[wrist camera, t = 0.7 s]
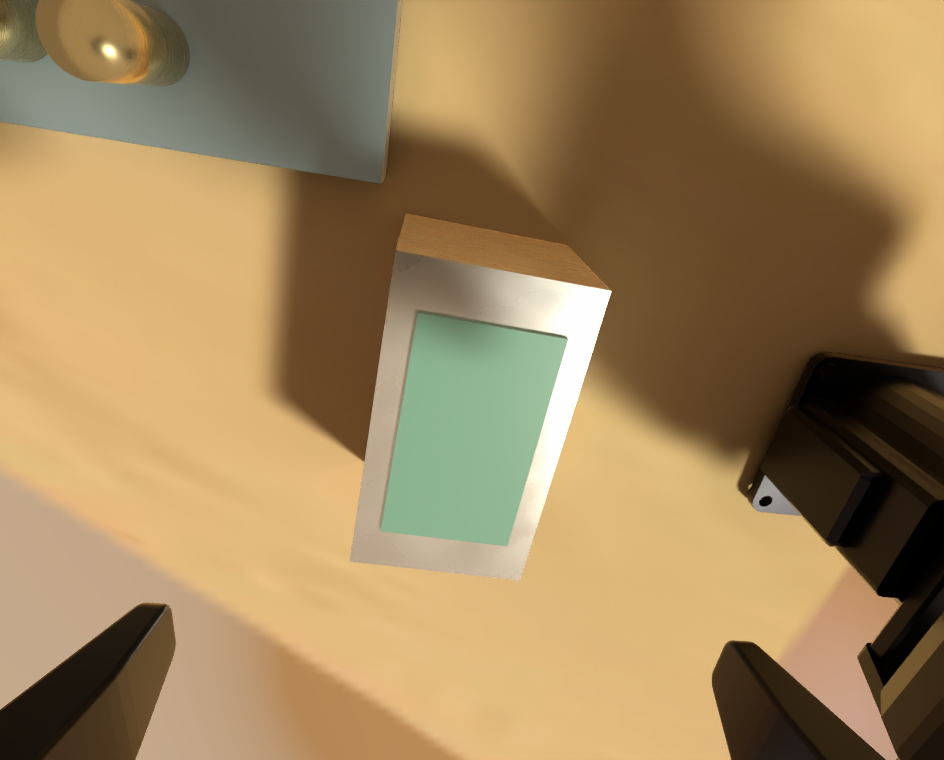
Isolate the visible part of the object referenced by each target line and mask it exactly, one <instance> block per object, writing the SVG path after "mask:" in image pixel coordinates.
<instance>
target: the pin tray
mask: <svg viewBox="0 0 944 760" xmlns="http://www.w3.org/2000/svg"><path fill="white" fill-rule="evenodd" d="M401 10H402V0H0V122H5V123H11V124H17V125H23V126H29V127H35V128H41V129H48V130H54V131H60V132H66V133H72V134H78V135H84V136H90V137H97V138H103V139H109V140H115V141H121V142H127V143H133V144H140V145H146V146H152V147H158V148H164V149H170V150H176V151H183V152H189V153H195V154H201V155H207V156H213V157H219V158H225V159H232V160H238V161H244V162H250V163H256V164H262V165H268V166H275V167H281V168H287V169H293V170H299V171H305V172H311V173H317V174H324V175H330V176H336V177H342V178H348V179H354V180H360V181H367V182H373V183H379V184H381V183H382V182H383V181H384V179H385V178H386V169H387V159H388V148H389V138H390V127H391V116H392V106H393V95H394V84H395V74H396V63H397V52H398V42H399V31H400V20H401Z"/></svg>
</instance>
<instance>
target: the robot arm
mask: <svg viewBox="0 0 944 760" xmlns="http://www.w3.org/2000/svg"><path fill="white" fill-rule="evenodd" d="M826 364H828V366H827V368H826V369H825V370H824V371H822V372H820V371H821V369H822V367H823V366H824V365H826ZM764 496H766V497H765V498H764V499H762V500H760V499H761V498H762V497H764ZM747 498H748V501H749V503H750V504H751V505H752V506H753V508H754V509H755V510H756V511H760V512H768V513H777V514H787V515H797V516H802V517H803V518H804V519H805V521H806V522H807V523H808V524H809V525H810V526H811V527H812V528H813V530H814V531H815V532H816V533H817V534H818V535H819V536H820V537H821V539H822V540H823V541H824V542H825V543H826V544H827V545H829V546H831V547H835V548H836V549H837V550H838V551H839V553H840V554H841V555H842V556H843V557H844V558H845V559H846V560H847V561H848V563H849V564H850V565H851V566H852V567H853V568H854V569H855V570H856V571H857V573H858V574H859V575H860V576H861V577H862V578H863V579H864V580H865V581H866V582H867V583H868V585H869V586H870V587H871V588H872V589H873V590H874V591H875V593H876V594H877V595H878V596H882V597H890V598H893V599H894V600H895V601H896V602H897V603H898V604H899V605H900V606H899V607H898V609H897V610H896V611H895V612H894V614H893V615H892V616H891V618H890V619H889V621H888V622H887V623H886V625H885V626H884V627H883V629H882V630H881V631H880V633H879V634H878V635H877V637H876V638H875V639H874V641H873V643H867V644H866V645H865V647H864V648H863V650H862V651H861V652H860V653H859V655H858V660H859V663H860V665H861V668H862V670H863V673H864V675H865V678H866V680H867V682H868V685H869V687H870V689H871V692H872V695H873V697H874V700H875V702H876V704H877V707H878V709H879V712H880V714H881V718H882V720H883V722H884V725H885V727H886V730H887V732H888V735H889V737H890V740H891V742H892V744H893V747H894V749H895V752H896V754H897V756H898V758H897V759H896V760H944V369H943V368H936V367H929V366H922V365H915V364H908V363H901V362H894V361H887V360H879V359H872V358H865V357H858V356H851V355H844V354H837V353H830V352H821V353H819V354H816V355H815V356H813V357H812V358H811V359H810V360H809V362H808V363H807V365H806V368H805V370H804V372H803V374H802V376H801V379H800V381H799V383H798V385H797V387H796V390H795V392H794V394H793V396H792V398H791V401H790V403H789V405H788V407H787V409H786V412H785V414H784V416H783V418H782V420H781V423H780V425H779V427H778V429H777V431H776V434H775V436H774V438H773V440H772V442H771V445H770V447H769V449H768V451H767V453H766V456H765V458H764V460H763V462H762V464H761V467H760V469H759V471H758V473H757V475H756V478H755V480H754V482H753V484H752V486H751V489H750V491H749V493H748V497H747ZM175 644H176V640H175V632H174V625H173V618H172V611H171V608H170V607H169V605H167V604H159V603H142V604H139V605H137V606H136V607H134V608H133V609H132V610H130V611H129V612H128V613H127V614H125V615H124V616H123V617H121V618H120V619H119V620H117V621H116V622H115V623H113V624H112V625H111V626H109V627H108V628H107V629H106V630H104V631H103V632H102V633H100V634H99V635H98V636H96V637H95V638H94V639H92V640H91V641H90V642H88V643H87V644H86V645H85V646H83V647H82V648H81V649H79V650H78V651H77V652H75V653H74V654H73V655H71V656H70V657H69V658H68V659H66V660H65V661H64V662H62V663H61V664H60V665H58V666H57V667H56V668H54V669H53V670H52V671H50V672H49V673H48V674H46V675H45V676H44V677H43V678H41V679H40V680H39V681H37V682H36V683H35V684H33V685H32V686H31V687H29V689H27V690H26V691H24V692H23V693H22V694H20V695H19V696H18V697H16V698H15V699H14V700H12V701H11V702H10V703H8V704H7V705H6V706H4V707H3V708H2V709H1V710H0V760H135V759H136V756H137V754H138V751H139V749H140V746H141V743H142V741H143V738H144V735H145V733H146V730H147V727H148V724H149V722H150V719H151V716H152V713H153V711H154V708H155V705H156V702H157V700H158V697H159V694H160V691H161V689H162V686H163V683H164V681H165V678H166V675H167V672H168V669H169V667H170V664H171V661H172V658H173V655H174V651H175ZM712 687H713V692H714V695H715V699H716V703H717V707H718V711H719V715H720V718H721V722H722V726H723V730H724V734H725V738H726V741H727V745H728V749H729V753H730V757H731V760H885V759H884V758H883V757H882V756H881V755H880V754H879V753H877V752H876V751H875V750H874V749H873V748H872V747H871V746H870V745H869V744H867V743H866V742H865V741H864V740H863V739H862V738H861V737H859V736H858V735H857V734H856V733H855V732H854V731H853V730H852V729H850V728H849V727H848V726H847V725H846V724H845V723H844V722H843V721H842V720H841V719H839V718H838V717H837V716H836V715H835V714H834V713H833V712H831V711H830V710H829V709H828V708H827V707H826V706H825V705H824V704H823V703H821V702H820V701H819V700H818V699H817V698H816V697H815V696H813V694H811V693H810V692H809V691H808V690H807V689H806V688H805V687H803V686H802V685H801V684H800V683H799V682H798V681H797V680H796V679H795V678H793V677H792V676H791V675H790V674H789V673H788V672H787V671H786V670H785V669H783V668H782V667H781V666H780V665H779V664H778V663H777V662H776V661H774V660H773V659H772V658H771V657H770V656H769V655H768V654H767V653H765V652H764V651H763V650H762V649H761V648H760V647H759V646H757V645H756V644H754V643H752V642H748V641H733V640H732V641H729V642H727V643H726V644H725V646H724V648H723V650H722V653H721V655H720V657H719V659H718V662H717V664H716V666H715V668H714V670H713V674H712Z"/></svg>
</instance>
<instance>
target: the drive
mask: <svg viewBox="0 0 944 760" xmlns="http://www.w3.org/2000/svg"><path fill="white" fill-rule="evenodd" d="M610 295H611V290H610V289H609V288H608V287H607V286H606V285H605V283H604V282H603V281H602V280H601V279H600V278H599V277H598V276H597V275H596V274H595V273H594V272H593V271H592V270H591V269H590V268H589V267H588V266H587V265H586V264H585V263H584V261H583V260H582V259H581V258H580V257H579V256H578V255H577V254H576V253H575V252H574V251H573V250H572V249H571V248H570V247H569V246H568V245H565V244H560V243H555V242H550V241H545V240H540V239H535V238H530V237H524V236H519V235H514V234H509V233H504V232H499V231H494V230H489V229H484V228H479V227H474V226H469V225H464V224H459V223H454V222H449V221H444V220H438V219H433V218H428V217H423V216H418V215H413V214H408V213H406V215H405V218H404V222H403V225H402V229H401V232H400V236H399V239H398V243H397V246H396V250H395V257H394V263H393V270H392V277H391V284H390V291H389V298H388V304H387V311H386V318H385V325H384V332H383V339H382V345H381V352H380V359H379V366H378V373H377V380H376V386H375V393H374V400H373V407H372V414H371V421H370V427H369V434H368V441H367V448H366V455H365V462H364V468H363V475H362V482H361V489H360V496H359V503H358V509H357V516H356V523H355V530H354V537H353V544H352V550H351V557H350V562H359V563H368V564H377V565H386V566H395V567H404V568H413V569H422V570H431V571H440V572H449V573H458V574H467V575H476V576H485V577H494V578H503V579H512V580H520V579H521V576H522V572H523V569H524V566H525V563H526V560H527V557H528V553H529V550H530V547H531V544H532V541H533V538H534V534H535V531H536V528H537V525H538V522H539V519H540V516H541V512H542V509H543V506H544V503H545V500H546V497H547V493H548V490H549V487H550V484H551V481H552V478H553V475H554V471H555V468H556V465H557V462H558V459H559V456H560V452H561V449H562V446H563V443H564V440H565V437H566V433H567V430H568V427H569V424H570V421H571V418H572V415H573V411H574V408H575V405H576V402H577V399H578V396H579V392H580V389H581V386H582V383H583V380H584V377H585V374H586V370H587V367H588V364H589V361H590V358H591V355H592V351H593V348H594V345H595V342H596V339H597V336H598V332H599V329H600V326H601V323H602V320H603V317H604V314H605V310H606V307H607V304H608V301H609V298H610Z"/></svg>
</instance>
